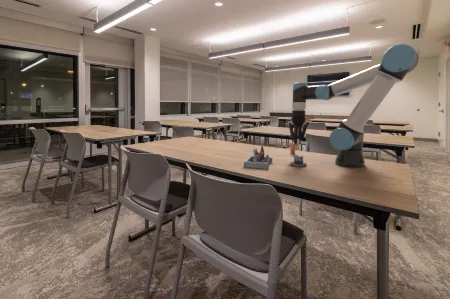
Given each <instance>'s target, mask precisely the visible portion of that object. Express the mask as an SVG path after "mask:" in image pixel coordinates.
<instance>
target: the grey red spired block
mask: <svg viewBox="0 0 450 299" xmlns="http://www.w3.org/2000/svg"><path fill="white" fill-rule="evenodd" d="M252 152H253V155H252V156H253V158H254V159H253V160H252V161H253V162H262V163H269V162H270V158H269V157H270V155H269V154H266V155H265V149H264V146H263V144H262V145H261V147H260V151H258V149H257V148H253V151H252ZM252 161H251V162H252ZM269 164H270V163H269Z"/></svg>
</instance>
